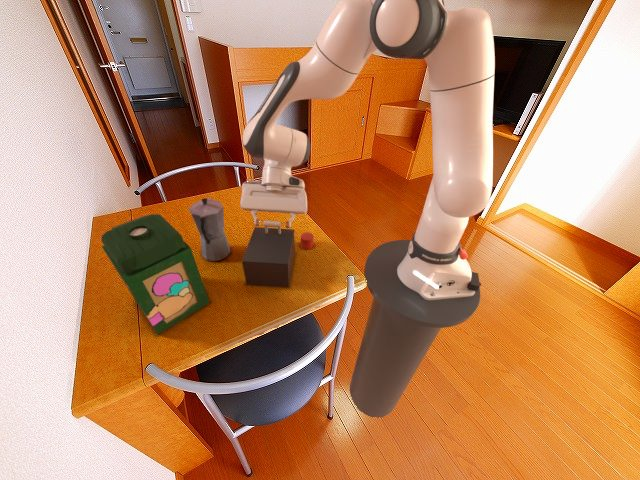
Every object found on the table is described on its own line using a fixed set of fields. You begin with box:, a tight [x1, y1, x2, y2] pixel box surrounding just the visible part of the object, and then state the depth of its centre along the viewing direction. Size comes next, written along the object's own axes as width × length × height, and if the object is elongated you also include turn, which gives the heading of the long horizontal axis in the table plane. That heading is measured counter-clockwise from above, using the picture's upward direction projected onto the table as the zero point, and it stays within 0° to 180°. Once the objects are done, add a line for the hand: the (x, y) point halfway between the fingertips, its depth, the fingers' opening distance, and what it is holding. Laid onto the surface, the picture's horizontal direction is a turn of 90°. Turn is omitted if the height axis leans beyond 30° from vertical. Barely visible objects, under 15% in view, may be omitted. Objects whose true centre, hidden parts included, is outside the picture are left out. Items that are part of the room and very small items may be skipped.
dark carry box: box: [241, 236, 296, 288], centre depth 84 cm, size 15×13×9 cm
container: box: [101, 213, 211, 336], centre depth 67 cm, size 15×18×25 cm
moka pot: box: [188, 197, 231, 262], centre depth 84 cm, size 10×15×20 cm, turn 14°
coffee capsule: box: [300, 231, 315, 250], centre depth 94 cm, size 4×4×4 cm
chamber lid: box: [241, 220, 296, 266], centre depth 79 cm, size 15×13×5 cm
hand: (272, 226), depth 83 cm, fingers open, 8 cm apart
